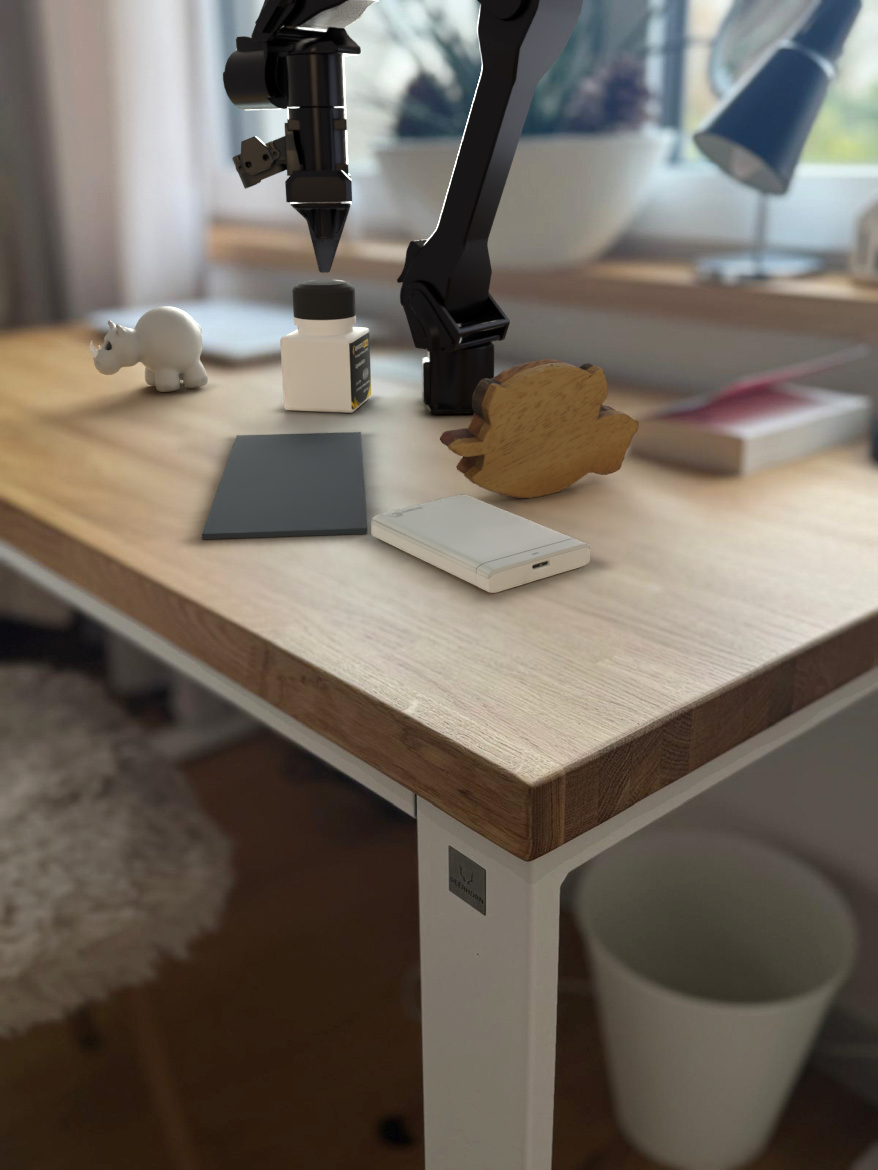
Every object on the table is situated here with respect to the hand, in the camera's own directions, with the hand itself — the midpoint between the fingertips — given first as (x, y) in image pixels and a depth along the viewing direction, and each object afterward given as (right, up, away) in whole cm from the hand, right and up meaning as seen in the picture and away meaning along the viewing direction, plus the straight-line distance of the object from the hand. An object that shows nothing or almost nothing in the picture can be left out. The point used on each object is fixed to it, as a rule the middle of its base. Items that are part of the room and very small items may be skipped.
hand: (324, 272), depth 112 cm
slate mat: (0, -24, -28) cm, 37 cm away
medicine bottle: (+1, -15, -4) cm, 15 cm away
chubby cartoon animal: (-19, -12, +3) cm, 22 cm away
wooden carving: (+19, -26, -31) cm, 45 cm away
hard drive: (+14, -31, -43) cm, 54 cm away
